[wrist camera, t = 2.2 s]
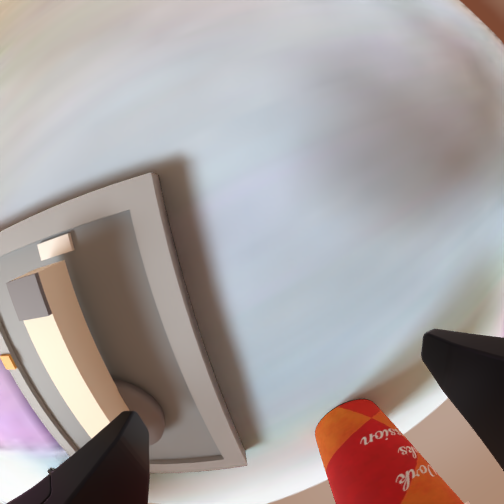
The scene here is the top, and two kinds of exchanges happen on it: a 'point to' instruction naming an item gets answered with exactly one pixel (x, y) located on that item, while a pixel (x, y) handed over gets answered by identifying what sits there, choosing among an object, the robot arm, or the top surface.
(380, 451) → the coffee cup
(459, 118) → the top surface
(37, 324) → the long cream stick
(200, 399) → the board
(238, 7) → the top surface
